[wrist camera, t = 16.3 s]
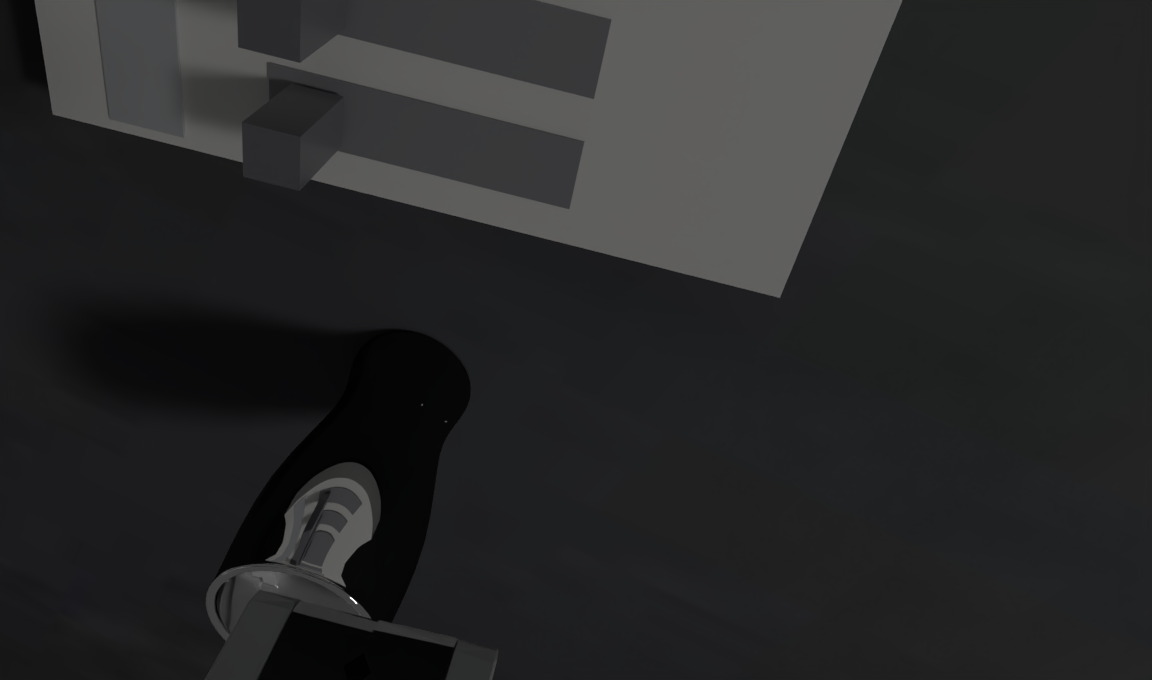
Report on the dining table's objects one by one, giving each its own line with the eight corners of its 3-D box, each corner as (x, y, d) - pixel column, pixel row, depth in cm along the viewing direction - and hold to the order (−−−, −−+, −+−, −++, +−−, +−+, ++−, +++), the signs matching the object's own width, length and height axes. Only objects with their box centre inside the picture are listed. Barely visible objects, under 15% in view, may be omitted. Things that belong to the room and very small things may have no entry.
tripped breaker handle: (290, 14, 30) (238, 47, 27) (290, -45, 29) (236, -19, 26) (345, 28, 30) (300, 62, 27) (348, -31, 29) (300, -2, 26)
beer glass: (432, 453, 46) (328, 706, 34) (322, 380, 45) (170, 620, 32) (507, 379, 43) (420, 633, 31) (390, 296, 41) (248, 531, 29)
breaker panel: (97, 89, 37) (-27, 158, 31) (41, -350, 28) (-147, -374, 22) (776, 261, 37) (786, 363, 31) (928, -124, 28) (985, -88, 22)
